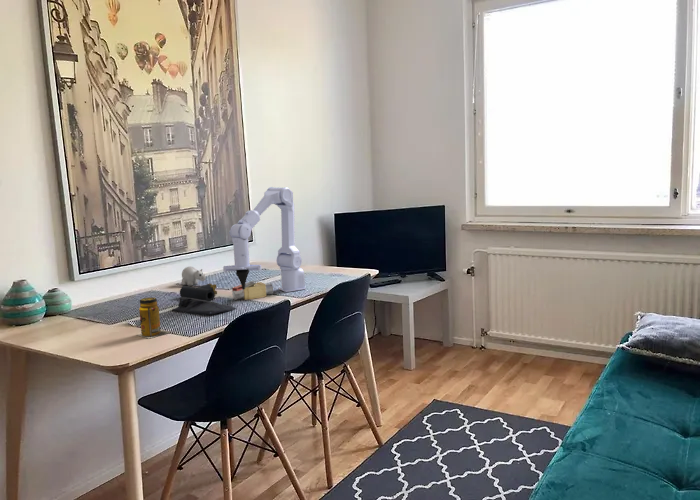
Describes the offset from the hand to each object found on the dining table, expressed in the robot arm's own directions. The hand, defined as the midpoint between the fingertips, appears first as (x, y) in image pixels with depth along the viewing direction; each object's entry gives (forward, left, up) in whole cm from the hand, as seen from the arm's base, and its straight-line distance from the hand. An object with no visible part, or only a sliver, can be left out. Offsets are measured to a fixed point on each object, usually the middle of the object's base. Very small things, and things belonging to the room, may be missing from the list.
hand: (243, 288), depth 235 cm
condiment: (+40, +24, -6) cm, 47 cm away
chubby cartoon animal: (+7, -45, -6) cm, 46 cm away
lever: (-2, -3, 0) cm, 4 cm away
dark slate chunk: (+17, +2, -6) cm, 18 cm away
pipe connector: (+11, -19, -6) cm, 23 cm away
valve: (-6, -6, -5) cm, 10 cm away
